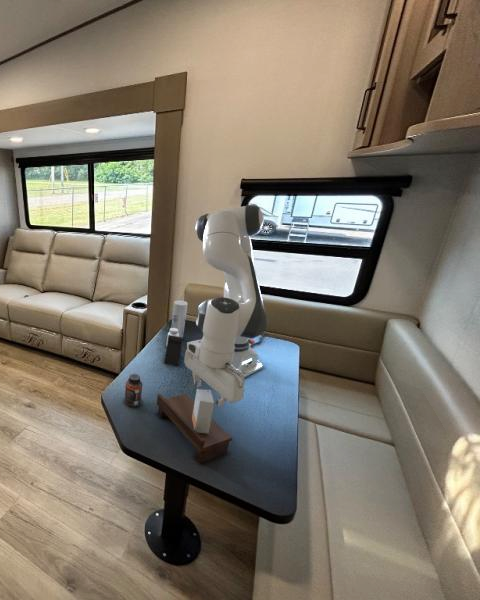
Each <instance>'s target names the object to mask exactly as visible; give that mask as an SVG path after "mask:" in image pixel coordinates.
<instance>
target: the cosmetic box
mask: <svg viewBox="0 0 480 600" xmlns="http://www.w3.org/2000/svg"><path fill="white" fill-rule="evenodd" d="M195 392H196V393H195V398H194V402H195V403H194V410H193V416H192V421H193V425H194V430H195V431H196V432H197V433H205V434H209V429H210V423H211V418H212V419H213V412H214V406H215V400H214V396H213V394H212V391H211V390H210V389H201V388H196V391H195Z"/></svg>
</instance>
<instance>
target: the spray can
mask: <svg viewBox="0 0 480 600" xmlns="http://www.w3.org/2000/svg"><path fill="white" fill-rule="evenodd" d="M188 305H189V304H188V302H187V301H185V300H181V299H180V300H179V299H178V300H175V301H174V303H173V309H172V319H171V320H172V321H171V327H170V328H177V329H178V334H179V337H181V338H183V339H184V332H185V326H186V318H187V312H188Z"/></svg>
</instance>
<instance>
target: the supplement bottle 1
mask: <svg viewBox="0 0 480 600" xmlns="http://www.w3.org/2000/svg"><path fill="white" fill-rule="evenodd" d="M142 393H143V382H142V380H141V375H139V374H137V373H131V374H129V375H128V379H127V380H126V381H125V393H124V402H125V404H126V405H127V406H129V407H132V408H133V407H134V408H135V407H138V406H140V405H141V402H142Z"/></svg>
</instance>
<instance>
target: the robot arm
mask: <svg viewBox="0 0 480 600" xmlns="http://www.w3.org/2000/svg"><path fill="white" fill-rule="evenodd" d="M264 221H265V217H264V214H263V211H262V210H261V208H260V207H259V206H258V205H257V204H246V205H243V206H235V207H228V208H226V209H221V210H217V211H214V212H211V213H205V214H203V215H201V216H199V218H198V219H197V220H196V223H195V233H196V236H197V238H198V240H199V241H201V242H202V254H203V255H202V256H203V258H204V260H205V261H206V263H207V264H209V265H210V266H211V267H212V268H214V269H216V270H219V271H221V272H223V275H224V278H225V283H224V284H223V296H221V297H220V296H219V297H214V298H213V299H206V300H204V301H202V302H201V303H200V304H199V305H198V309H197V310H198V313H197V317H196V321H195V325H196V326H197V328H198V329H199V330H200V331H201V333H202V334H203V335H202V338H200V339H196V340H191V341H188V342H187V343H186V349H185V353H184V361H183V363H184V365H185V368H187V369H188V370H190V371H191V372H192V373H191V375H192V378H193V385H194V386H195V387H196V388H200V387H202V384H203V382H204V383H205V384H206V385H208V386H209V387H210V388H212V389H213V390H214V391H215V392H216V393H218V394H219V398H216V399H215V404H216V405H217V406H218V407H219V408H221V407H224V406H225V403H226V402H227V401H228V403H231V404H233V403H237V402H241V401H242V400H243V399H244V393H245V381H246V380H245V378H247V377H248V376H250V375H252V374H254V373H256V372H257V371H259V370H261V369H263V367H264V365H263V363H262V362H261V361H260V360H259V354H258V353H257V351H256V350H254V349H253V348H252V347H254V346H256V345H259V344H261V343H262V342H263V338H264V337H265V336H268V335H269V334H268V333H267V332H266V330H267V325H268V317H267V311H266V309H265V306H264V301H263V297H262V294H261V289H260V285H259V281H258V276H257V272H256V268H255V263H254V254H253V245H252V240H251V237H253V236H255V235H257V234H259V233H260V232H261V231H262V227H263V225H264ZM259 336H261V337H260V340H259V341H257V342H256V341H255V340H254V339H255V338H258V337H259Z"/></svg>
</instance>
